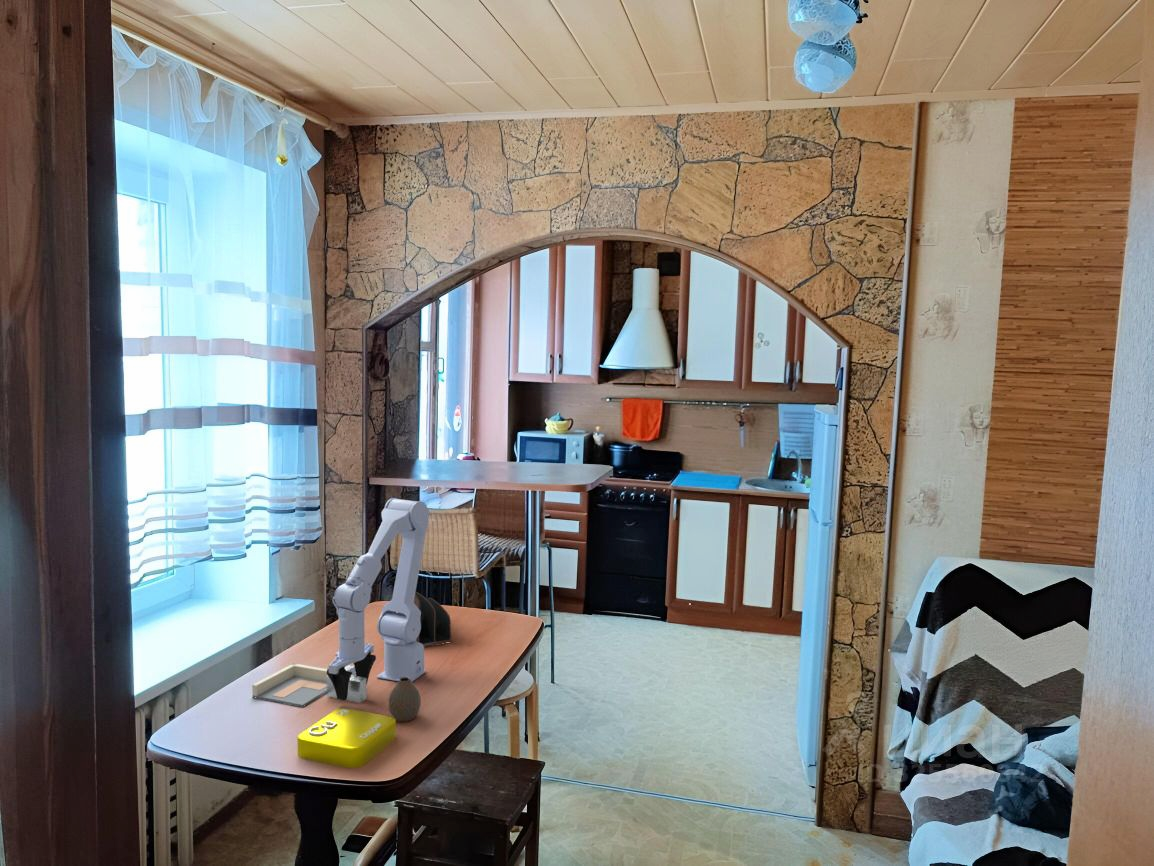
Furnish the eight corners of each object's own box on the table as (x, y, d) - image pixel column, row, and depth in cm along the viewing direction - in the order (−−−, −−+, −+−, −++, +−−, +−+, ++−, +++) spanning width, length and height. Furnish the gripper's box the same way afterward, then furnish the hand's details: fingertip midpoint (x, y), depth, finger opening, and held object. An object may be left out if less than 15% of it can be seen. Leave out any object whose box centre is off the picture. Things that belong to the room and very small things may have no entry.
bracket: (378, 690, 184) (378, 670, 184) (359, 702, 177) (359, 681, 177) (346, 684, 187) (346, 664, 187) (327, 696, 180) (326, 676, 180)
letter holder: (416, 649, 212) (416, 599, 211) (397, 627, 229) (397, 580, 228) (451, 643, 217) (451, 594, 215) (429, 622, 234) (429, 576, 233)
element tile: (358, 772, 148) (357, 748, 148) (293, 758, 153) (292, 734, 152) (399, 737, 162) (399, 715, 162) (339, 725, 167) (339, 703, 167)
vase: (393, 727, 166) (392, 687, 165) (385, 714, 172) (385, 676, 171) (424, 721, 169) (424, 682, 168) (415, 708, 175) (415, 671, 174)
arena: (340, 683, 188) (340, 671, 187) (302, 707, 174) (302, 694, 174) (293, 675, 192) (293, 663, 192) (252, 697, 179) (252, 684, 179)
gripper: (355, 623, 186) (356, 678, 187) (316, 643, 173) (317, 702, 174) (381, 627, 184) (381, 682, 185) (343, 648, 170) (344, 707, 172)
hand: (352, 692), depth 179 cm, fingers open, 7 cm apart
